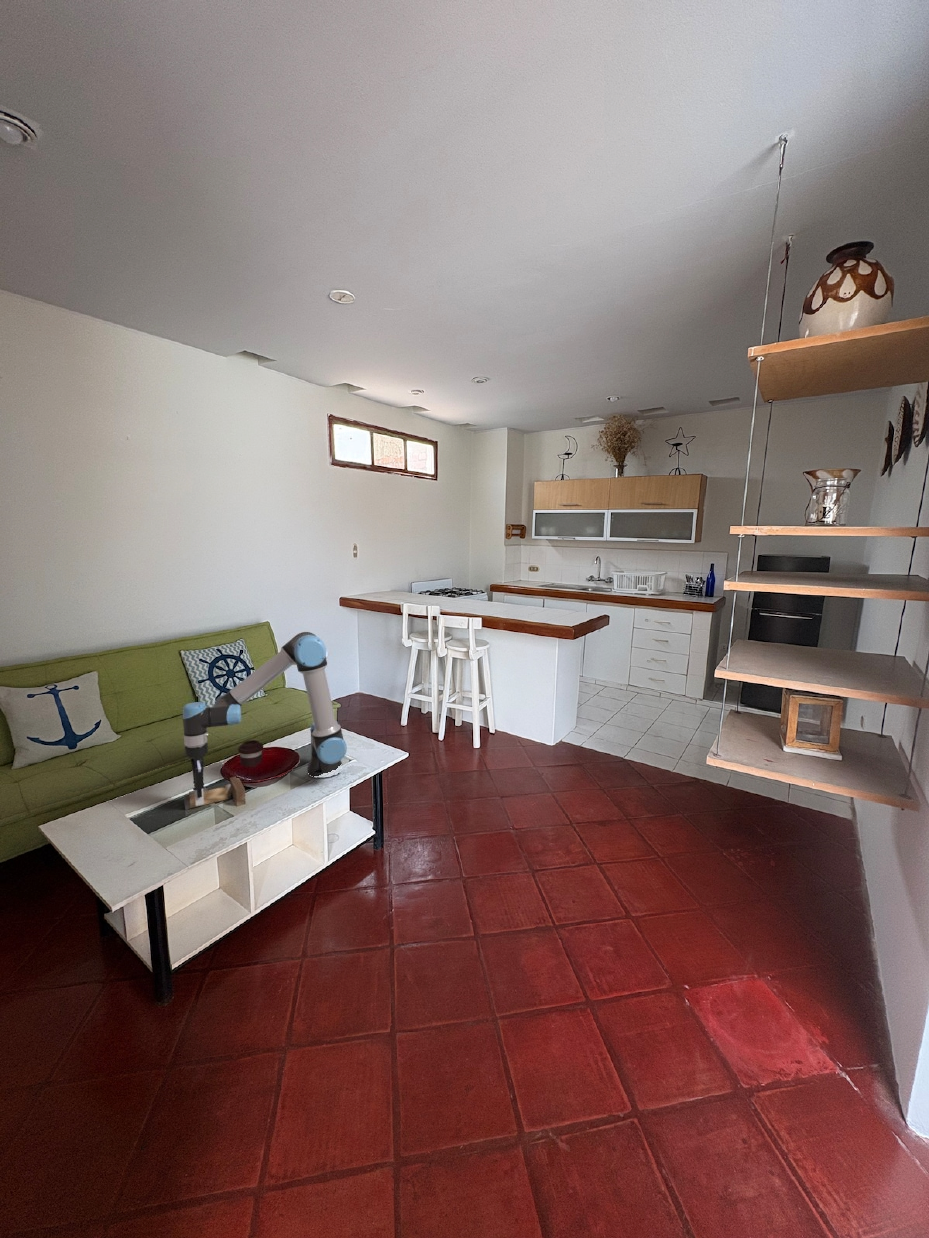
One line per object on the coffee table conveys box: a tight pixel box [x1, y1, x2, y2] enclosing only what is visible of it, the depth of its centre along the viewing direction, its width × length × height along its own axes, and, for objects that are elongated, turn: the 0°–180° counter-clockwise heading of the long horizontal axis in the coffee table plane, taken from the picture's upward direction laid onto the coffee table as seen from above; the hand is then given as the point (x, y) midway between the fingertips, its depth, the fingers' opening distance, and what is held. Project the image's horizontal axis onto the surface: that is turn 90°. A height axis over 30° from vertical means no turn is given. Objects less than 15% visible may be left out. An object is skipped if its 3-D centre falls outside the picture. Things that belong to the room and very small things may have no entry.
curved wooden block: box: [229, 775, 246, 807], centre depth 193 cm, size 3×14×6 cm, turn 35°
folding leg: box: [183, 783, 232, 810], centre depth 189 cm, size 16×3×5 cm, turn 125°
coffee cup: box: [237, 739, 264, 767], centre depth 213 cm, size 10×10×15 cm
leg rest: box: [188, 787, 208, 795], centre depth 190 cm, size 6×3×4 cm, turn 125°
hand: (199, 804), depth 186 cm, fingers closed
